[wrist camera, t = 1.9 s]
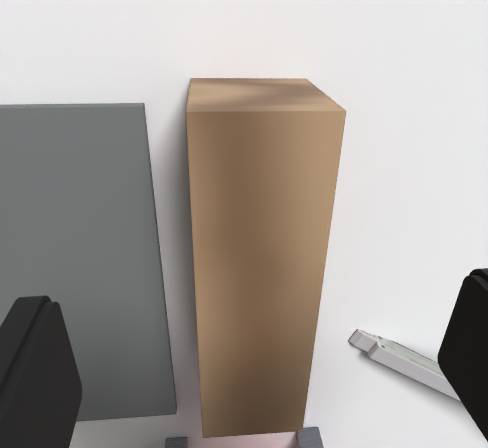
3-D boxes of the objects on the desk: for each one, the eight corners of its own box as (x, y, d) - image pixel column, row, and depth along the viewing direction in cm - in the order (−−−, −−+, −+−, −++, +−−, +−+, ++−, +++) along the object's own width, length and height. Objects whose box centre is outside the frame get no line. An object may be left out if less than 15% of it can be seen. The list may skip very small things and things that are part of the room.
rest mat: (144, 103, 18) (142, 106, 17) (176, 406, 27) (176, 414, 27) (-76, 105, 17) (-85, 109, 16) (37, 416, 27) (34, 424, 26)
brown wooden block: (304, 77, 18) (346, 111, 13) (282, 343, 26) (302, 430, 21) (191, 77, 18) (186, 111, 12) (202, 347, 25) (202, 437, 20)
